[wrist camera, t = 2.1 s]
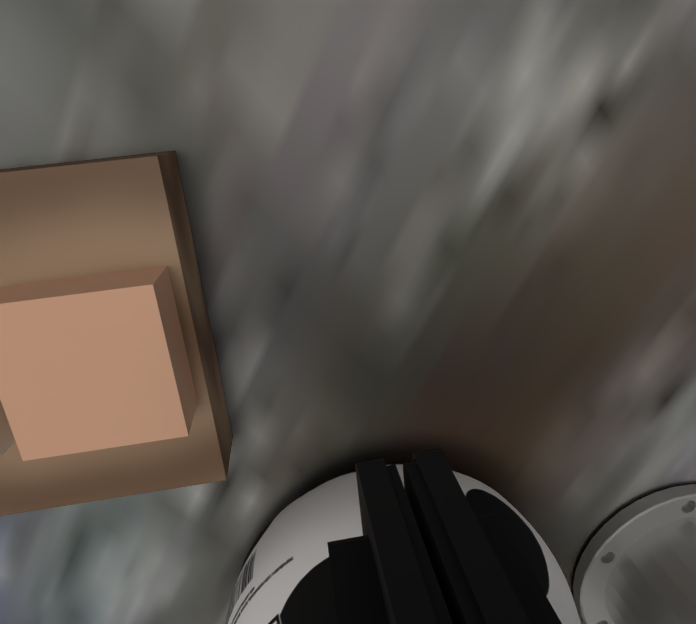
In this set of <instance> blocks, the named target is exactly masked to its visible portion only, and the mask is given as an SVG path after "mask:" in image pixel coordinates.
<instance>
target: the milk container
mask: <svg viewBox="0 0 696 624" xmlns="http://www.w3.org/2000/svg"><path fill="white" fill-rule="evenodd" d="M394 464H395V465H396V467H397V470H398V472H399V475H400V478H401V481H402V483H403V486H404V477H403V463H392V464H386V466H388V465H394ZM453 473H454V475H455V477H456V479H457V481H458V483H459V485H460V487H461V489H462V491H463V493H464V494H465V496H466V498H467V500H468V502H469V504H470V506H471V508H472V510H473V512H474V514H475V516H476V515H481V514H487V513H492V512H496V513H497V514H498V515H499V516H500V517H501V519H502V520H503V522H504V523H505V525H506V527H507V529H508V530H509V532H510V534H511V536H512V537H513V539H514V541H515V543H516V544H517V546H518V548H519V550H520V551H521V553H522V555H523V557H524V558H525V560H526V562H527V564H528V565H529V567H530V569H531V570H532V572H533V574H534V576H535V577H536V579H537V581H538V583H539V584H540V586H541V588H542V590H543V591H544V593H545V595H546V597H547V598H548V600H549V602H550V604H551V605H552V607H553V609H554V611H555V612H556V614H557V616H558V618H559V619H560V621H561V623H562V624H581V623H580V619H579V616H578V612H577V609H576V605H575V602H574V600H573V597H572V594H571V591H570V588H569V586H568V583H567V580H566V578H565V576H564V574H563V572H562V570H561V568H560V566H559V565H558V563H557V561H556V559H555V557H554V556H553V554H552V552H551V551H550V549H549V548H548V546H547V545H546V544H545V542H544V541H543V539H542V538H541V536H540V535H539V534H538V533H537V532H536V530H535V529H534V528H533V527H532V526H531V524H530V523H529V522H528V521H527V520H526V519H525V518H524V517H523V516H522V515H521V514H520V513H519V511H518V510H517V509H515V508H514V507H513V506H512V505H511V504H510V503H509V502H508V501H507V500H506V499H505V498H504V497H502V496H501V495H500V494H499V493H497V492H496V491H495V490H493V489H492V488H490V487H489V486H487V485H485V484H484V483H482V482H480V481H478V480H476V479H473V478H471V477H469V476H466V475H463V474H461V473H458V472H455V471H453ZM359 536H363V532H362V523H361V514H360V505H359V496H358V487H357V477H356V470H355V471H351V472H347V473H344V474H341V475H338V476H335V477H333V478H331V479H329V480H327V481H325V482H323V483H321V484H319V485H318V486H316V487H314V488H313V489H311V490H309V491H308V492H306V493H304V494H303V495H301V496H299V497H298V498H296V499H295V500H294V501H292V502H291V503H289V504H288V505H287V506H286V507H285V508H284V509H283V510H282V511H281V512H280V513H279V514H278V515H277V516H276V517H275V518H274V520H273V521H272V522H271V523H270V524H269V525H268V526H267V527H266V528H265V529H264V531H263V532H262V533H261V534H260V536H259V537H258V538H257V540H256V541H255V543H254V544H253V546H252V547H251V549H250V551H249V553H248V555H247V557H246V559H245V561H244V563H243V566H242V568H241V571H240V574H239V576H238V579H237V582H236V585H235V588H234V591H233V595H232V598H231V602H230V606H229V610H228V615H227V620H226V624H338V619H337V612H336V604H335V597H334V589H333V582H332V574H331V567H330V559H329V552H328V544H327V542H331V541H336V540H342V539H347V538H353V537H359Z"/></svg>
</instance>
